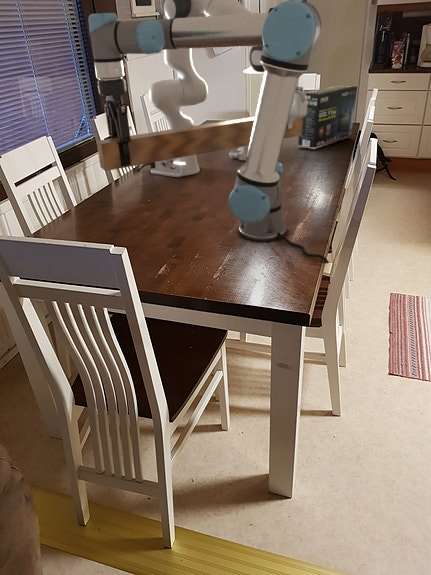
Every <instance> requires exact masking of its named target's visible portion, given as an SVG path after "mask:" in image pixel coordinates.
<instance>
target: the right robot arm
mask: <svg viewBox="0 0 431 575" xmlns="http://www.w3.org/2000/svg"><path fill="white" fill-rule="evenodd" d="M252 13H253V12H252ZM87 19H88V20H87V21H88V30H89V32H88V33H89V36H90V42H91V48H92V54H93V60H94V69H95V77H96V78H97V79H98V80H97V88H98V93H99V95H100V96H103V97H106V98H105V100H103V101H102V104H103V108H104V111H105V119H106V124H107V131H108V136H109V137H110V139H112V138H119V142H117V144H118V145H119V152H120V159H121V165H122V166H127V165H131V161H130V153H129V146H128V143H129V142H130V141H131V138H130V136H131V131H130V124H129V116H128V106H127V104H124V101H123V99H122V98H123V97H122V95H125V94H126V93H127V91H128V90H127V82H126V79H125V78H124V76H125V69H124V68H125V67H126V65H125V63H124V62H123V61H124V60H123V55H128V54H129V55H154V54H160V53H161V52H162V51H164V50H171V49H191V50H192V49H220V48H243V47H244V48H246V47H252V46H263V49H262V54H261V59H260V62H261V64H262V66H263V68H264V72H263V75H262V81H261V85H260V90H259V94H258V99H257V104H256V109H255V114H254V117H255V118H254V123H253V128H252V132H251V137H250V142H249V147H248V152H247V156H246V161H245V162H244V163H243V164H241V165H240V166H239V167H238V169H237V174H236V177H235V183H234V188H233V189H232V190H231V191H230V193H229V197H228V207H229V210H230V212H231V213H232V215H233V216H234V217H235V218H236V219H237V220H239V221H240V222H239V226H238V232H239V235H240V236H241V237H242V238H244V239H247V240H250V241H254V242H271V241H277V240H279V239H282V240H283V241H285V243H287V244H288V245H290V246H292V247H295V248H299V249H301V251H302V253H303V254H304V255H305V256H307V257H310V258H318V259H321V260H323V262H324V263H325V264H330V261H329V260H328V259H327V258H326V256H324V255H323V254H319V253H309V252H307V249H306V247H305V246H303V245H302V244H299V243H295V242H292V241H291V240H289V239H288V238H287V237H286V236H285V235H286V234H287V223H286V221H285V216H284V214H283V210H282V200H283V181H284V180H283V179H284V177H283V176H284V168H283V167H284V166H283V164H282V163H281V162H279V160H280V159H279V158H280V155H281V150H282V147H283V142H284V139H285V138H284V135H285V131H286V127H287V123H288V119H289V115H290V111H291V107H292V103H293V99H294V95H295V91H296V87H297V83H298V79H299V80H300V77H301V76H302V75H304V74H305V73H307V72H308V68H309V64H310V60H311V56H312V53H313V50H314V47H315V45H316V44H317V43H318V41H319V39H320V36H321V33H322V18H321V15H320V13H319V11H318V9H317V8H316V7H315V6H314V5H313V4H311V3H310V2H307V1H304V0H285V1H282V2H280V3H279V4H277V5H275V7H268V9H267V10H266V11H265V12H257V13H256V12H255V13H253V14H237V15H220V16H204V17H188V18H175V19H164V18H157V19H143V20H127V21H121V20H119V19H118V15H117V14H116V13H115V12H104V13H91V14H89V16H88V18H87Z"/></svg>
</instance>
